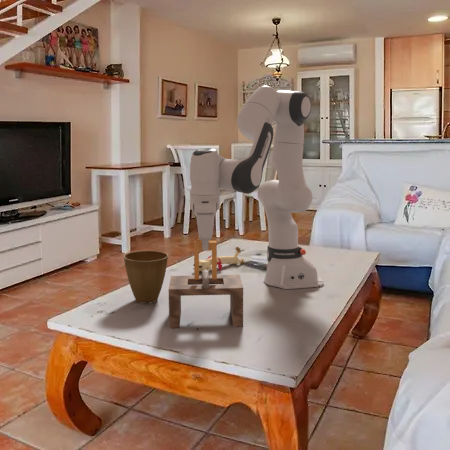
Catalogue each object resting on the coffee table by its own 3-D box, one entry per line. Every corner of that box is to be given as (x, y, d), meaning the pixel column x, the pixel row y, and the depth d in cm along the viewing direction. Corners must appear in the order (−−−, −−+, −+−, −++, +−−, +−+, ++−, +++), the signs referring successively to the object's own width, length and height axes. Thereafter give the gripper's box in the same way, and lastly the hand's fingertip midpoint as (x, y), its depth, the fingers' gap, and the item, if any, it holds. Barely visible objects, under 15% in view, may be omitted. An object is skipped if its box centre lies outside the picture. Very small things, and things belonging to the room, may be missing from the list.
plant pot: (131, 310, 168) (129, 262, 166) (121, 296, 182) (119, 252, 179) (174, 303, 174) (173, 257, 171) (161, 291, 188) (160, 248, 185)
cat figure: (232, 264, 231) (187, 269, 214) (233, 244, 230) (188, 248, 213) (247, 268, 223) (201, 274, 207) (248, 248, 222) (203, 253, 206)
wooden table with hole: (239, 310, 168) (239, 268, 165) (243, 326, 154) (243, 281, 152) (171, 311, 167) (170, 269, 164) (169, 328, 153) (168, 282, 150)
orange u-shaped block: (194, 279, 156) (194, 242, 154) (194, 276, 159) (194, 240, 157) (216, 279, 157) (216, 242, 155) (216, 276, 160) (216, 240, 158)
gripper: (194, 198, 164) (195, 241, 166) (194, 208, 144) (194, 256, 146) (214, 198, 164) (214, 241, 167) (216, 208, 144) (216, 256, 147)
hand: (205, 248), depth 156 cm, fingers closed on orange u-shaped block, 3 cm apart
